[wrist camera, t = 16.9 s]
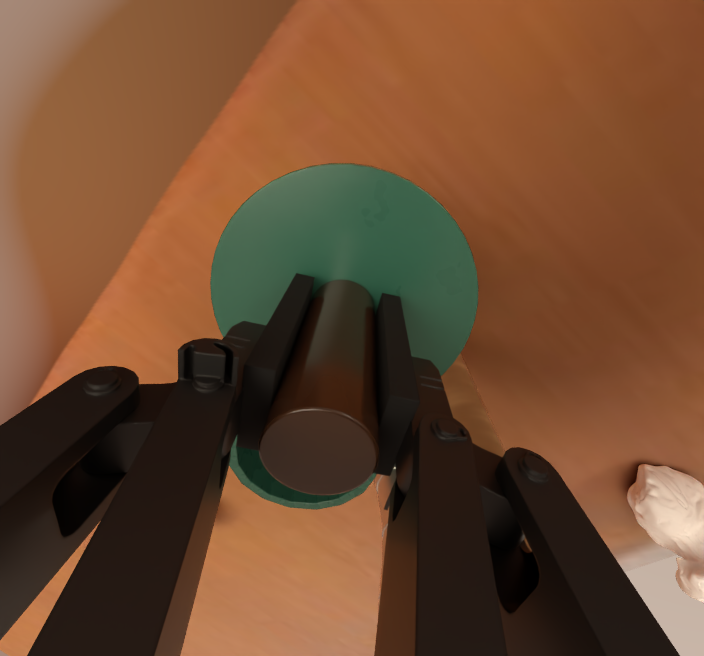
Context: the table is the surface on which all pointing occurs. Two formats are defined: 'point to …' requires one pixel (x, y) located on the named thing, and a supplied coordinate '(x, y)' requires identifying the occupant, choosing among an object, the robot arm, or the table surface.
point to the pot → (269, 488)
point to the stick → (470, 408)
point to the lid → (342, 306)
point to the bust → (673, 519)
